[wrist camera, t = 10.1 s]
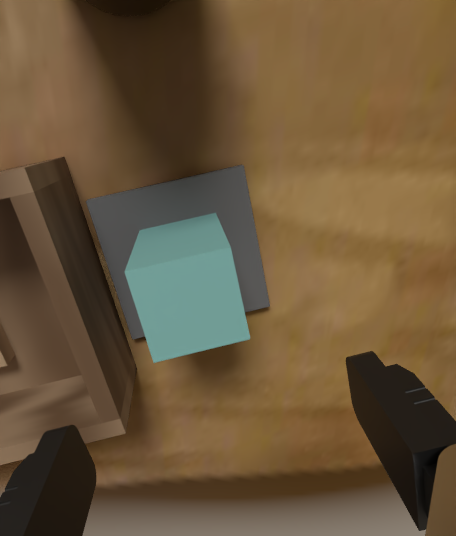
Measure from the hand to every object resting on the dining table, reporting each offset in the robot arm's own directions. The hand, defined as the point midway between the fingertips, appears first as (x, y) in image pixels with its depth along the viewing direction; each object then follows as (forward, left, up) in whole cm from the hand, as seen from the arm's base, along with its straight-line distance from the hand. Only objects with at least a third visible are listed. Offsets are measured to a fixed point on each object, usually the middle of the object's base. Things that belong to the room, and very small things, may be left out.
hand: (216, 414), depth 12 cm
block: (0, -1, -13) cm, 13 cm away
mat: (+1, -1, -14) cm, 14 cm away
